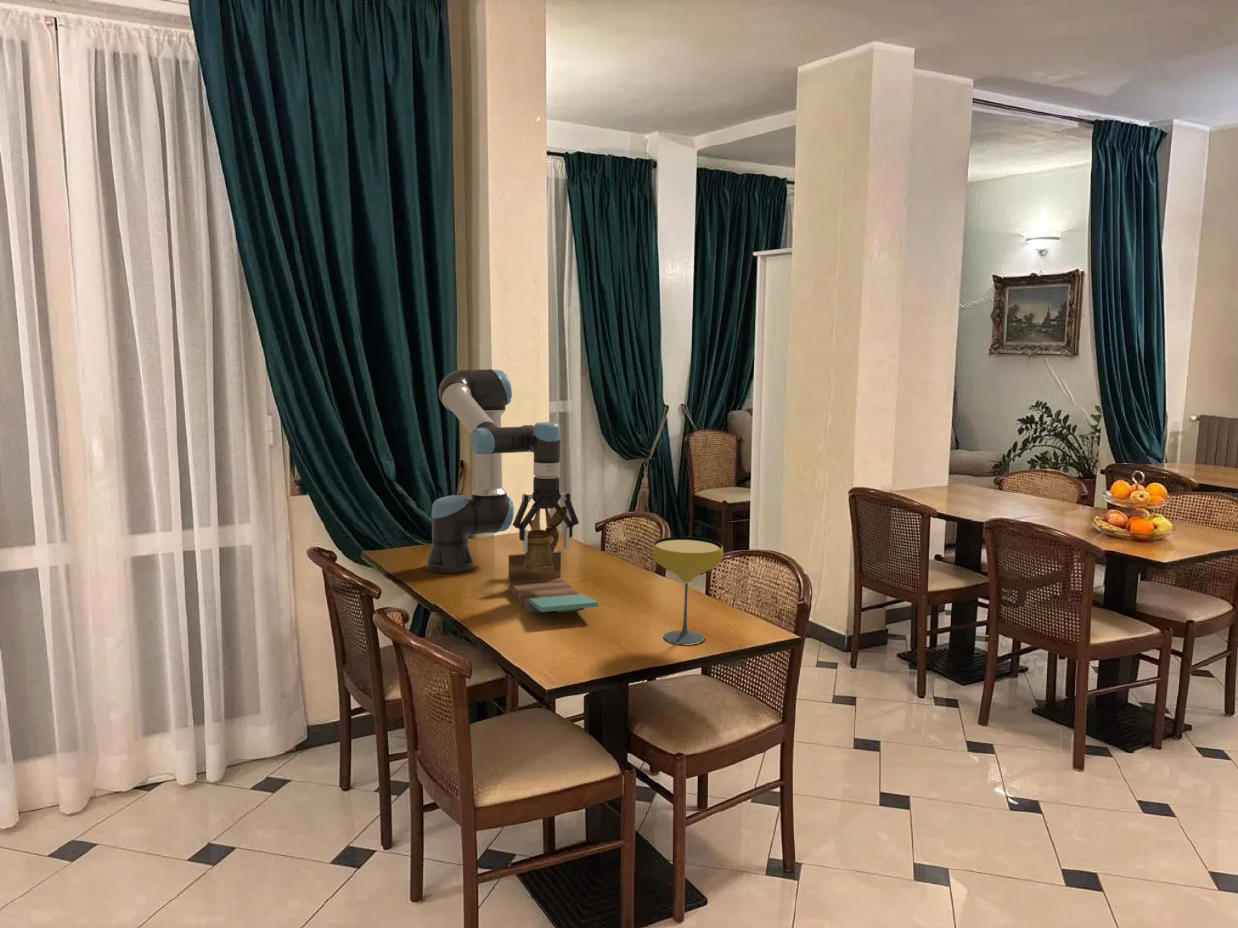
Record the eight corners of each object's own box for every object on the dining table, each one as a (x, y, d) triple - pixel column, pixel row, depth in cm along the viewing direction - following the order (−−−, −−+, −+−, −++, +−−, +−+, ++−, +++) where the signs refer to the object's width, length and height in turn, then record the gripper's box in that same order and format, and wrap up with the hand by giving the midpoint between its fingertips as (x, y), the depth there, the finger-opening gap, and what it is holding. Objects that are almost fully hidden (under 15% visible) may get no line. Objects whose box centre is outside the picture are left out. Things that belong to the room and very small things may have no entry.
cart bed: (508, 589, 274) (508, 554, 273) (558, 585, 280) (559, 551, 278) (529, 613, 252) (529, 575, 251) (583, 608, 258) (584, 571, 256)
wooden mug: (573, 569, 264) (573, 508, 262) (530, 574, 257) (531, 512, 255) (559, 562, 272) (559, 503, 269) (517, 567, 265) (517, 507, 262)
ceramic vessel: (518, 571, 295) (518, 496, 291) (543, 568, 300) (543, 494, 296) (540, 584, 281) (541, 505, 277) (566, 580, 286) (567, 502, 282)
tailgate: (529, 598, 252) (541, 607, 241) (583, 593, 258) (597, 602, 247) (529, 605, 252) (541, 614, 241) (583, 600, 258) (597, 609, 247)
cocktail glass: (733, 638, 236) (737, 545, 232) (691, 656, 223) (694, 557, 219) (678, 622, 248) (681, 533, 244) (635, 638, 235) (638, 544, 231)
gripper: (508, 480, 253) (508, 555, 256) (590, 476, 261) (589, 550, 265) (502, 475, 260) (502, 549, 263) (582, 472, 268) (580, 544, 272)
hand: (545, 549), depth 264 cm, fingers open, 12 cm apart
